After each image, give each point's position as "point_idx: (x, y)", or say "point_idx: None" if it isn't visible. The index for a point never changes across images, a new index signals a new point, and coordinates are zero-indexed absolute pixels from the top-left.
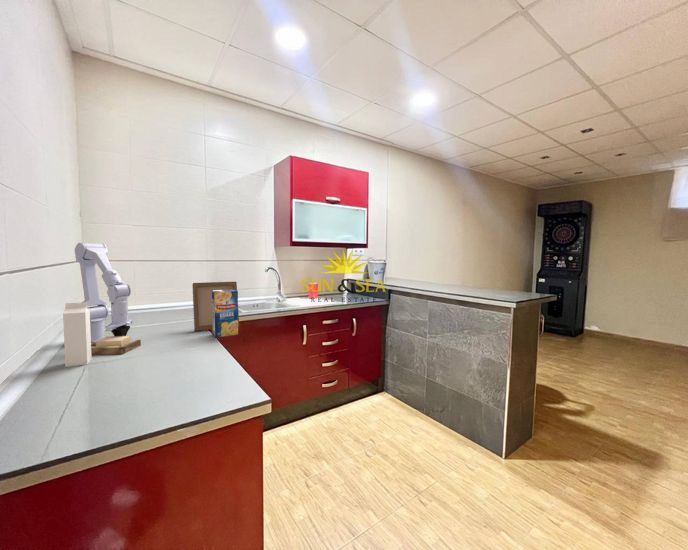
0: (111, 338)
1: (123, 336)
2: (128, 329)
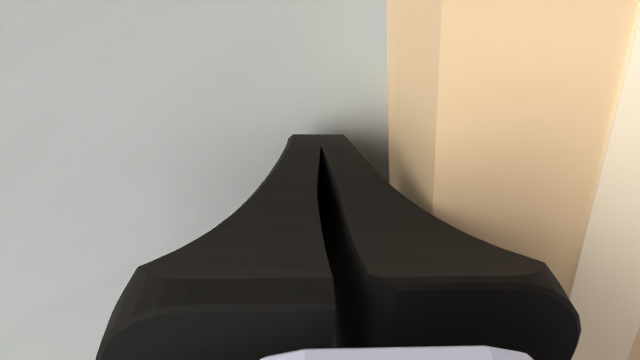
0: (629, 269)
1: (479, 144)
2: (206, 251)
